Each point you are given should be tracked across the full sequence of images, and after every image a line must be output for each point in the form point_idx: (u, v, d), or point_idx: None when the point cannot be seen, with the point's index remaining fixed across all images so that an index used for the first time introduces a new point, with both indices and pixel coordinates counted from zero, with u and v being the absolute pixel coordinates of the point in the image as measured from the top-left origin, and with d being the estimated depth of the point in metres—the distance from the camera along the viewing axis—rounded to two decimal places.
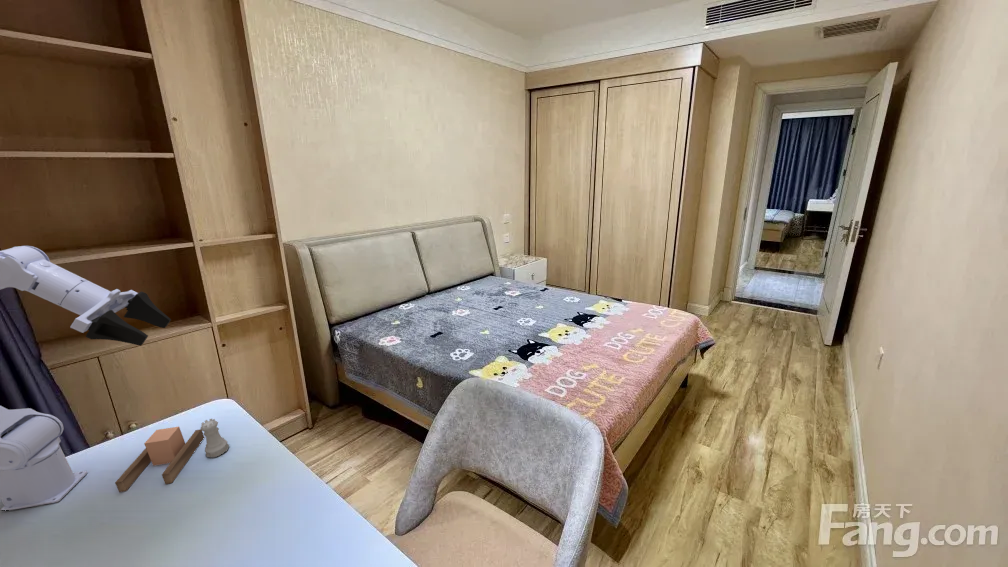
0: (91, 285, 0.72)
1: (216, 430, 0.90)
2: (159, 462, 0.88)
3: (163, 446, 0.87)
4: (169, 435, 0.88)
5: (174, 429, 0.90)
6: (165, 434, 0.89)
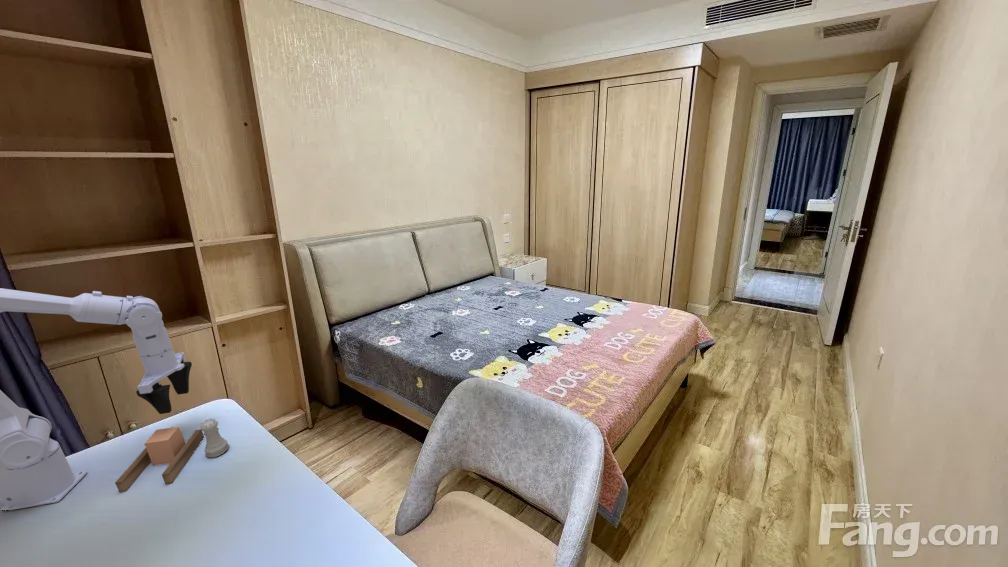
0: (172, 354, 0.90)
1: (216, 430, 0.90)
2: (159, 462, 0.88)
3: (163, 446, 0.87)
4: (169, 435, 0.88)
5: (174, 429, 0.90)
6: (165, 434, 0.89)
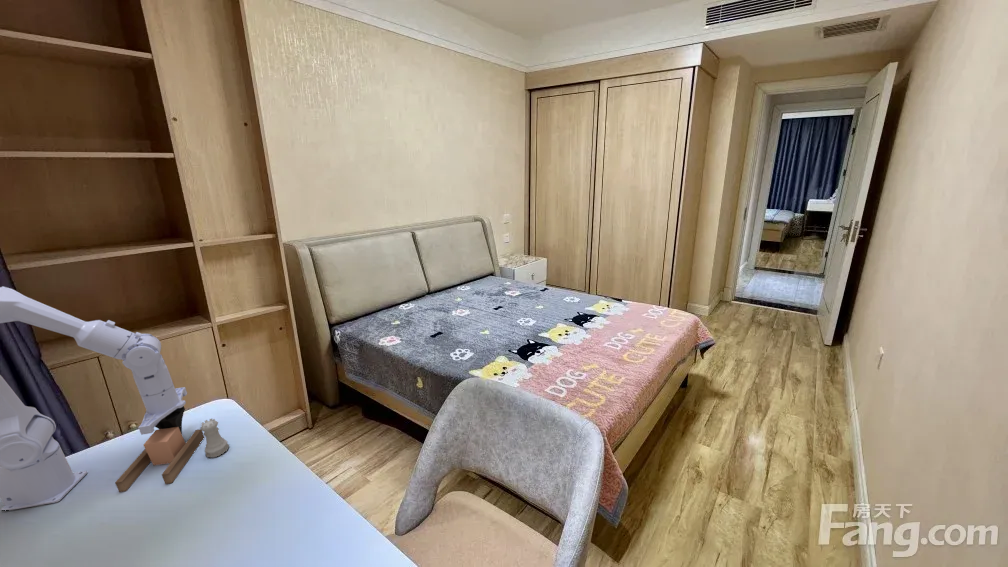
0: (173, 392, 0.89)
1: (216, 430, 0.90)
2: (159, 463, 0.88)
3: (162, 447, 0.87)
4: (168, 436, 0.88)
5: (173, 430, 0.90)
6: (164, 434, 0.88)
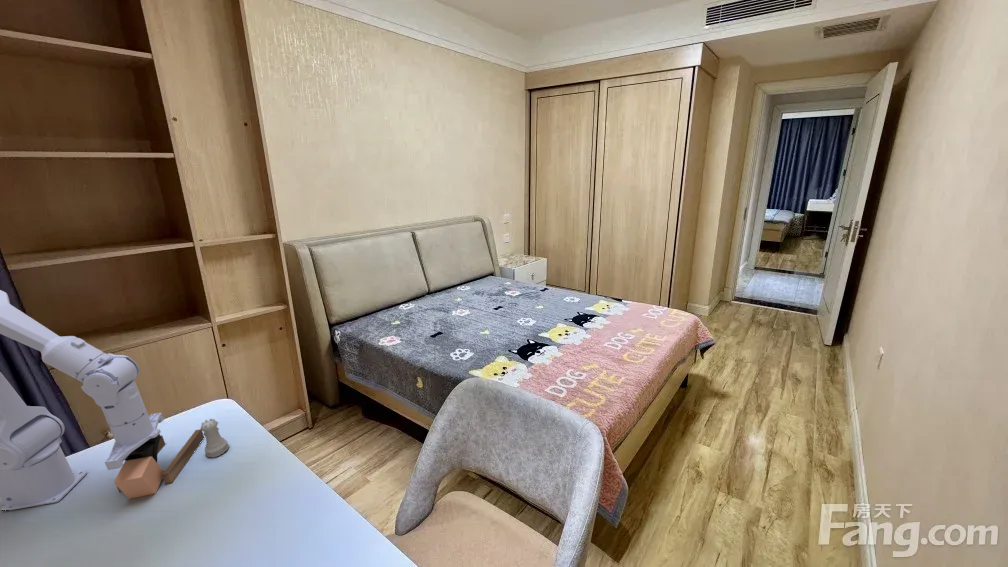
0: (146, 420, 0.80)
1: (216, 430, 0.90)
2: (135, 496, 0.80)
3: (136, 482, 0.78)
4: (142, 470, 0.78)
5: (146, 460, 0.80)
6: (136, 468, 0.79)
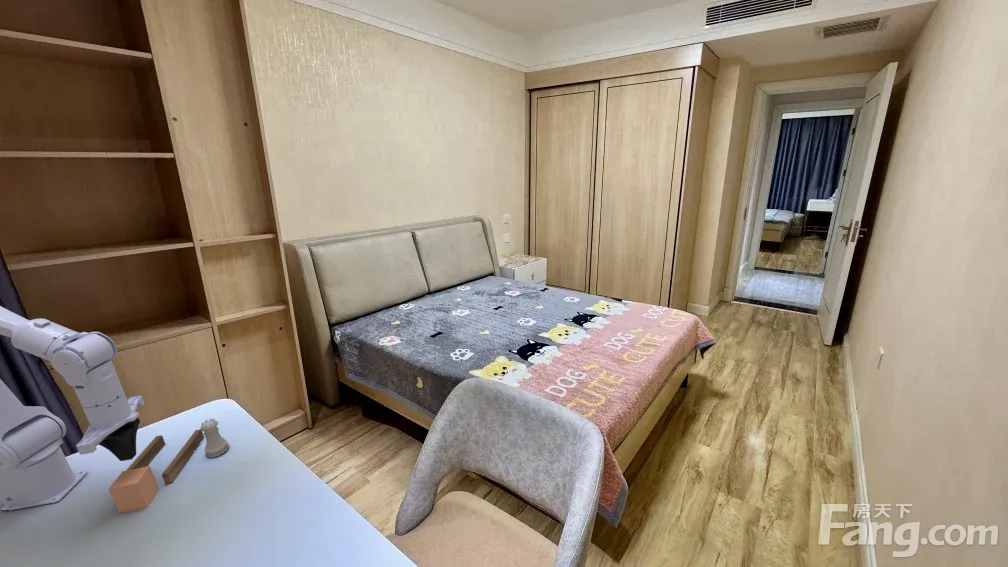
0: (123, 402, 0.75)
1: (216, 430, 0.90)
2: (126, 509, 0.77)
3: (131, 490, 0.76)
4: (138, 477, 0.77)
5: (144, 469, 0.79)
6: (133, 476, 0.77)
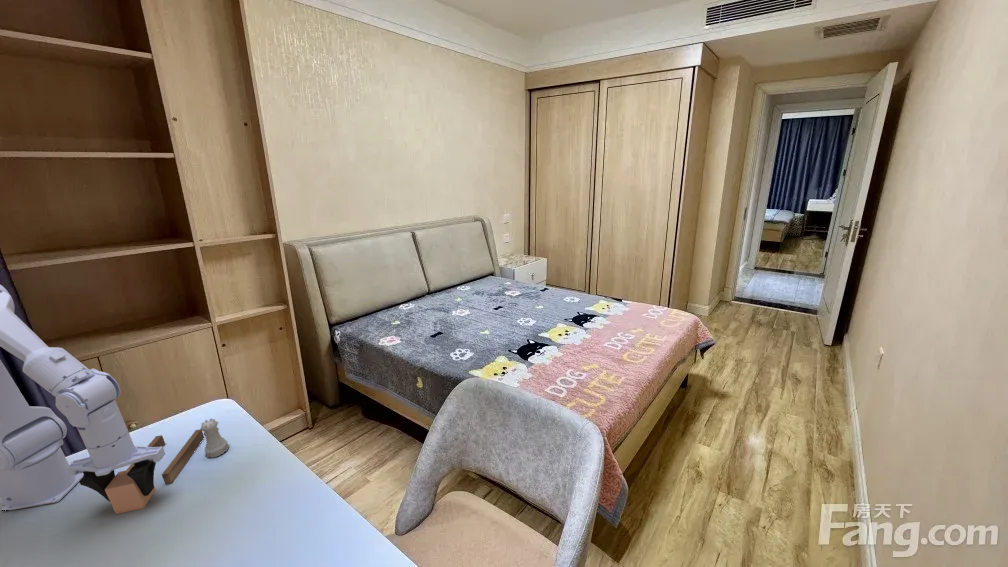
0: (98, 454, 0.72)
1: (216, 430, 0.90)
2: (123, 510, 0.77)
3: (127, 491, 0.76)
4: None
5: None
6: None
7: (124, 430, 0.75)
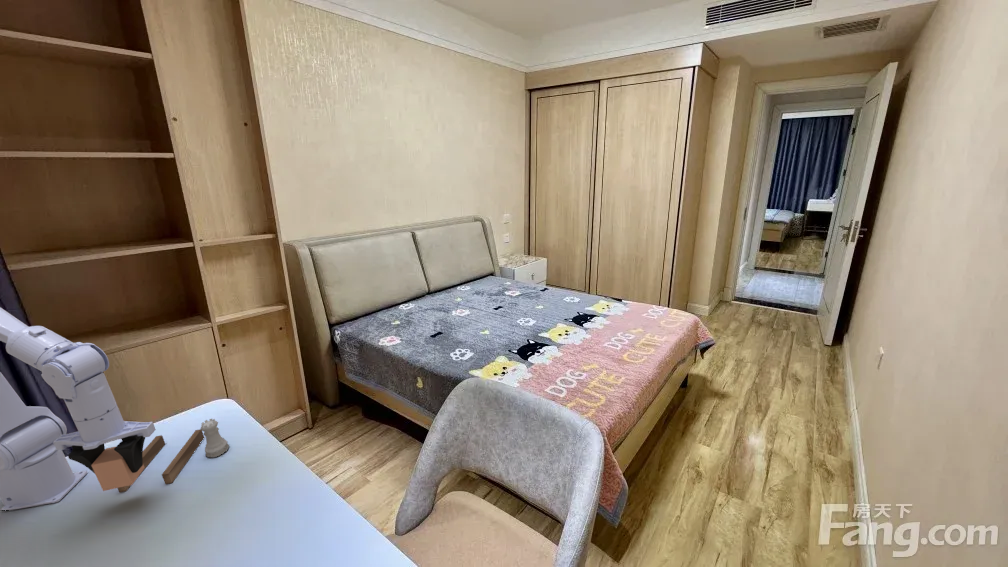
0: (85, 427, 0.70)
1: (216, 430, 0.90)
2: (110, 487, 0.75)
3: (115, 466, 0.74)
4: None
5: None
6: (117, 452, 0.75)
7: (113, 404, 0.73)
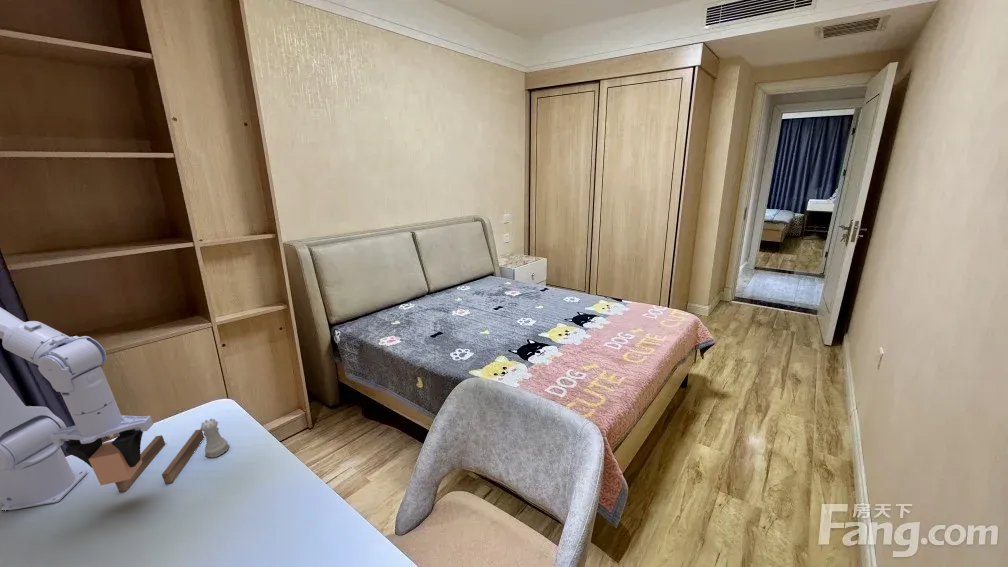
0: (82, 421, 0.69)
1: (216, 430, 0.90)
2: (108, 481, 0.74)
3: (112, 461, 0.73)
4: None
5: None
6: (114, 446, 0.75)
7: (110, 398, 0.72)
